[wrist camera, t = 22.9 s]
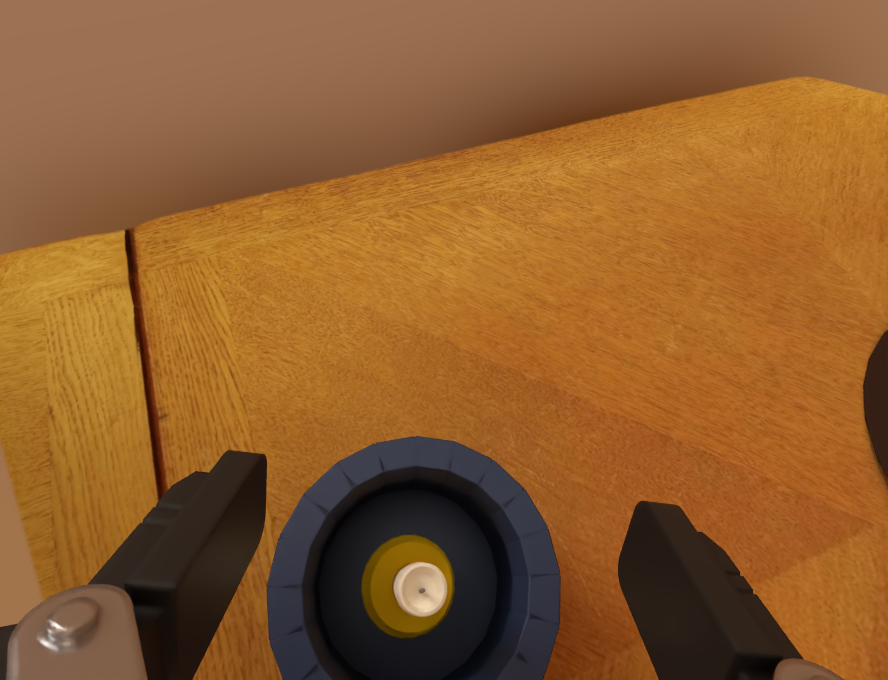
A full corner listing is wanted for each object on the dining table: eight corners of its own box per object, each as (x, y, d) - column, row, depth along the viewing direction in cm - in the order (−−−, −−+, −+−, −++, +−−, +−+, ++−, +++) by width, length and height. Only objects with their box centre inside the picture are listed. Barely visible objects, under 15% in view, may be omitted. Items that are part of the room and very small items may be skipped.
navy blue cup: (320, 721, 26) (276, 809, 16) (303, 500, 30) (260, 462, 21) (525, 668, 28) (599, 717, 18) (480, 467, 32) (519, 417, 22)
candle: (416, 660, 27) (443, 748, 13) (342, 595, 28) (291, 611, 14) (471, 573, 29) (547, 568, 15) (400, 516, 30) (409, 460, 16)
